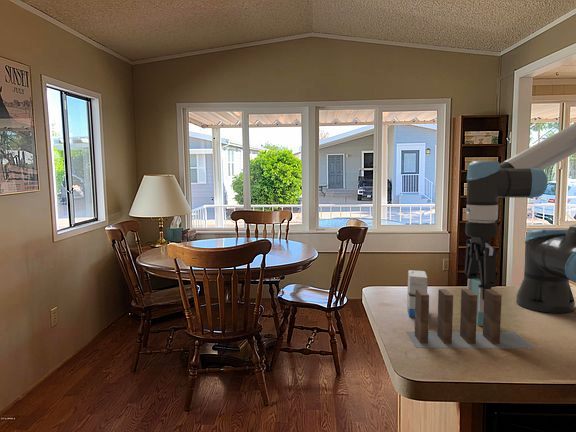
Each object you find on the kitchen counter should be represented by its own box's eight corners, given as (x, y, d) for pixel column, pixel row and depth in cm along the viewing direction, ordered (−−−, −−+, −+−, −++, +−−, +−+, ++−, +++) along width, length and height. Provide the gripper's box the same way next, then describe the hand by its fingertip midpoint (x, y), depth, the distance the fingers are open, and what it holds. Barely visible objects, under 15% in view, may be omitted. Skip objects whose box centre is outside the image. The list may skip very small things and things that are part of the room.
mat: (514, 333, 110) (515, 331, 110) (535, 349, 100) (536, 348, 100) (405, 333, 111) (405, 331, 111) (415, 349, 101) (415, 347, 101)
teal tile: (477, 320, 120) (478, 278, 119) (484, 327, 115) (486, 283, 114) (470, 320, 120) (471, 278, 119) (477, 327, 115) (479, 283, 114)
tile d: (444, 335, 109) (446, 289, 107) (451, 343, 103) (453, 295, 102) (437, 335, 109) (438, 289, 107) (443, 343, 103) (445, 295, 102)
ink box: (427, 319, 121) (428, 277, 120) (408, 318, 122) (409, 276, 121) (424, 309, 130) (425, 270, 128) (406, 308, 131) (407, 269, 129)
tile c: (467, 335, 108) (469, 289, 107) (475, 343, 103) (477, 295, 102) (459, 335, 108) (461, 289, 107) (467, 343, 103) (469, 295, 102)
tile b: (490, 335, 108) (492, 289, 107) (499, 343, 103) (501, 295, 102) (482, 335, 108) (484, 289, 107) (491, 343, 103) (493, 295, 102)
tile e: (422, 335, 109) (423, 289, 108) (427, 343, 104) (429, 295, 102) (414, 335, 109) (415, 289, 108) (420, 343, 104) (421, 295, 102)
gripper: (453, 216, 125) (451, 296, 127) (482, 226, 105) (478, 319, 107) (480, 216, 125) (477, 296, 127) (514, 225, 105) (510, 319, 107)
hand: (478, 306), depth 117 cm, fingers open, 7 cm apart
